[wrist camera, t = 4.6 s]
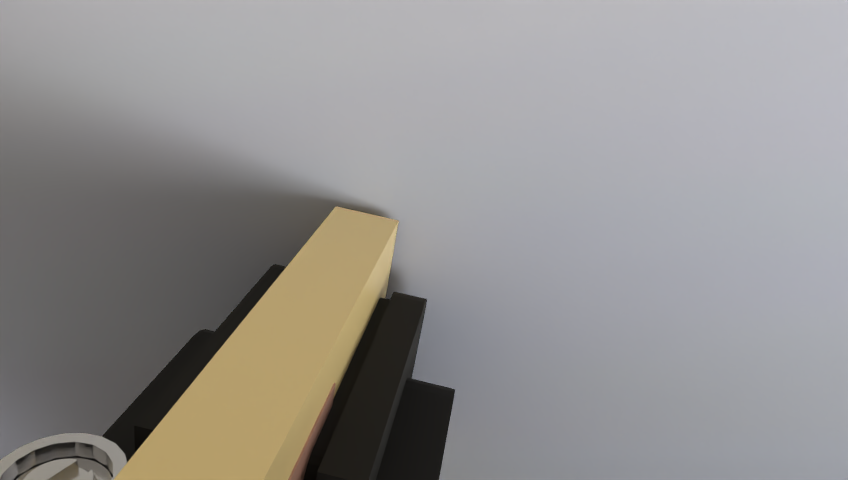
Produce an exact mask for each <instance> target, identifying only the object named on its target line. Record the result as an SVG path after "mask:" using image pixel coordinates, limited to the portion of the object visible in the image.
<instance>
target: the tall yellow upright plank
mask: <svg viewBox="0 0 848 480" xmlns="http://www.w3.org/2000/svg"><path fill="white" fill-rule="evenodd" d="M398 222H399V221H398V220H394V219H390V218H385V217H381V216H376V215H372V214H368V213H363V212H359V211H354V210H350V209H345V208H341V207H337V206H336V207H335V208H334V209H333V210H332V212H331V213H330V214H329V215H328V217H327V218H326V219H325V220H324V221H323V223H322V224H321V225H320V226H319V228H318V229H317V230H316V231H315V233H314V234H313V235H312V236H311V237H310V239H309V240H308V241H307V242H306V244H305V245H304V246H303V247H302V249H301V250H300V251H299V252H298V253H297V255H296V256H295V257H294V258H293V260H292V261H291V262H290V263H289V264H288V266H287V267H286V268H285V269H284V271H283V272H282V273H281V274H280V276H279V277H278V278H277V279H276V280H275V282H274V283H273V284H272V285H271V287H270V288H269V289H268V290H267V292H266V293H265V294H264V295H263V296H262V298H261V299H260V300H259V301H258V303H257V304H256V305H255V306H254V307H253V309H252V310H251V311H250V312H249V314H248V315H247V316H246V317H245V319H244V320H243V321H242V322H241V323H240V325H239V326H238V327H237V328H236V330H235V331H234V332H233V333H232V335H231V336H230V337H229V338H228V339H227V341H226V342H225V343H224V344H223V346H222V347H221V348H220V349H219V350H218V352H217V353H216V354H215V355H214V357H213V358H212V359H211V360H210V362H209V363H208V364H207V365H206V366H205V368H204V369H203V370H202V371H201V373H200V374H199V375H198V376H197V378H196V379H195V380H194V381H193V382H192V384H191V385H190V386H189V387H188V389H187V390H186V391H185V392H184V394H183V395H182V396H181V397H180V398H179V400H178V401H177V402H176V403H175V405H174V406H173V407H172V408H171V409H170V411H169V412H168V413H167V414H166V416H165V417H164V418H163V419H162V421H161V422H160V423H159V424H158V425H157V427H156V428H155V429H154V430H153V432H152V433H151V434H150V435H149V437H148V438H147V439H146V440H145V441H144V443H143V444H142V445H141V446H140V448H139V449H138V450H137V451H136V452H135V454H134V455H133V456H132V457H131V459H130V460H129V461H128V462H127V464H126V465H125V466H124V467H123V468H122V470H121V471H120V472H119V473H118V475H117V476H116V477H115V478H114V480H303V479H304V474H305V471H306V467H307V464H308V461H309V458H310V455H311V452H312V450H313V447H314V445H315V443H316V441H317V438H318V436H319V434H320V432H321V430H322V427H323V425H324V423H325V421H326V418H327V416H328V414H329V412H330V410H331V407H332V405H333V399H334V397H335V395H336V392H337V390H338V388H339V386H340V384H341V381H342V379H343V377H344V375H345V373H346V371H347V368H348V366H349V364H350V362H351V360H352V357H353V355H354V353H355V351H356V349H357V346H358V344H359V342H360V340H361V338H362V336H363V333H364V331H365V329H366V327H367V325H368V322H369V320H370V318H371V316H372V314H373V311H374V309H375V307H376V305H377V303H378V301H379V299H380V298H384V299H385V297H386V291H387V286H388V280H389V274H390V268H391V262H392V257H393V251H394V245H395V239H396V234H397V228H398Z"/></svg>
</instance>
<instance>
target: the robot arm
mask: <svg viewBox="0 0 848 480" xmlns="http://www.w3.org/2000/svg"><path fill="white" fill-rule="evenodd" d="M285 268H286V267H285V266H280V265H273V266H272V267H270V269H269V270H268V271H267V272H266V273H265V274H264V276H263V277H262V278H261V279H260V280H259V281H258V283H257V284H256V285H255V286H254V287H253V288H252V289H251V291H250V292H249V293H248V294H247V295H246V296H245V298H244V299H243V300H242V301H241V302H240V303H239V304H238V306H237V307H236V308H235V309H234V310H233V311H232V313H231V314H230V315H229V316H228V317H227V318H226V320H225V321H224V322H223V323H222V324H221V325H220V326H219V328H218V329H217V330H216V331H215V332H214V331H210V330H206V329H205V330H200V331H199V332H198V333H197V334H195V335H194V336H193V337H192V338H191V339H190V341H189V342H188V343H187V344H186V345H185V346H184V347H183V348H182V349H181V350H180V352H179V353H178V354H177V355H176V356H175V357H174V358H173V359H172V360H171V361H170V362H169V364H168V365H167V366H166V367H165V368H164V369H163V370H162V371H161V372H160V373H159V375H158V376H157V377H156V378H155V379H154V380H153V381H152V382H151V383H150V384H149V386H148V387H147V388H146V389H145V390H144V391H143V392H142V393H141V394H140V395H139V396H138V398H137V399H136V400H135V401H134V402H133V403H132V404H131V405H130V406H129V407H128V409H127V410H126V411H125V412H124V413H123V414H122V415H121V416H120V417H119V418H118V419H117V421H116V422H115V423H114V424H113V425H112V426H111V427H110V428H109V429H108V430H107V432H106V433H105V434H104V435H103V436H98V435H92V434H87V433H63V434H58V435H53V436H49V437H45V438H40V439H38V440H35V441H33V442H31V443H28V444H26V445H24V446H21V447H19V448H17V449H16V450H14V451H13V452H11V453H10V454H8V455H7V456H5V457H4V458H2V459H1V460H0V480H114V478H115V477H116V476H117V475H118V473H119V472H120V471H121V470H122V468H123V467H124V466H125V465H126V464H127V462H128V461H129V460H130V459H131V457H132V456H133V455H134V454H135V452H136V451H137V450H138V449H139V448H140V446H141V445H142V444H143V443H144V441H145V440H146V439H147V438H148V437H149V435H150V434H151V433H152V432H153V430H154V429H155V428H156V427H157V425H158V424H159V423H160V422H161V421H162V419H163V418H164V417H165V416H166V414H167V413H168V412H169V411H170V409H171V408H172V407H173V406H174V405H175V403H176V402H177V401H178V400H179V398H180V397H181V396H182V395H183V394H184V392H185V391H186V390H187V389H188V387H189V386H190V385H191V384H192V382H193V381H194V380H195V379H196V378H197V376H198V375H199V374H200V373H201V371H202V370H203V369H204V368H205V366H206V365H207V364H208V363H209V362H210V360H211V359H212V358H213V357H214V355H215V354H216V353H217V352H218V350H219V349H220V348H221V347H222V346H223V344H224V343H225V342H226V341H227V339H228V338H229V337H230V336H231V335H232V333H233V332H234V331H235V330H236V328H237V327H238V326H239V325H240V323H241V322H242V321H243V320H244V319H245V317H246V316H247V315H248V314H249V312H250V311H251V310H252V309H253V307H254V306H255V305H256V304H257V303H258V301H259V300H260V299H261V298H262V296H263V295H264V294H265V293H266V292H267V290H268V289H269V288H270V287H271V285H272V284H273V283H274V282H275V280H276V279H277V278H278V277H279V276H280V274H281V273H282V272H283V271H284V269H285ZM426 302H427V299H424V298H419V297H415V296H411V295H406V294H402V293H398V292H394V293H393V295H392V297H391V299H390V300H389V299H384V298H380V299H379V301H378V303H377V305H376V307H375V309H374V311H373V314H372V316H371V318H370V320H369V322H368V325H367V327H366V329H365V331H364V333H363V336H362V338H361V340H360V342H359V344H358V346H357V349H356V351H355V353H354V355H353V357H352V360H351V362H350V364H349V366H348V368H347V371H346V373H345V375H344V377H343V379H342V381H341V384H340V386H339V388H338V390H337V392H336V395H335V397H334V399H333V405H332V407H331V410H330V412H329V414H328V416H327V418H326V421H325V423H324V425H323V427H322V430H321V432H320V434H319V436H318V438H317V441H316V443H315V445H314V447H313V450H312V452H311V455H310V458H309V461H308V464H307V467H306V471H305V474H304V479H303V480H439V475H440V470H441V464H442V459H443V453H444V448H445V442H446V437H447V431H448V426H449V420H450V415H451V409H452V404H453V398H454V392H455V389H452V388H448V387H443V386H439V385H435V384H431V383H427V382H423V381H418V380H414V379H411V378H412V373H413V368H414V363H415V358H416V353H417V348H418V343H419V338H420V333H421V328H422V323H423V318H424V313H425V308H426Z"/></svg>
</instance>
